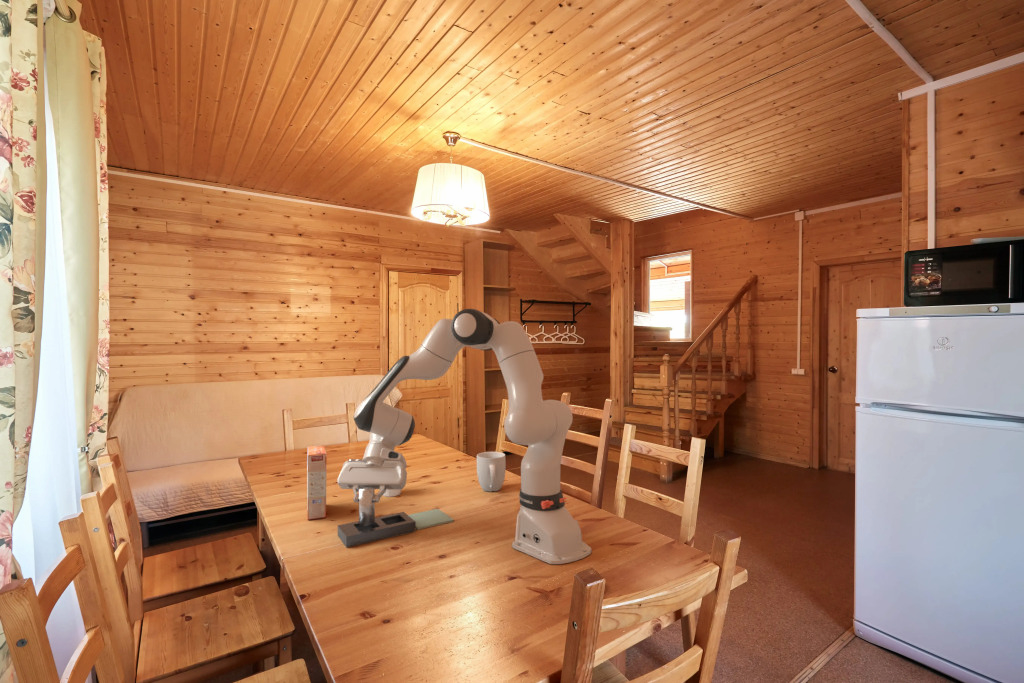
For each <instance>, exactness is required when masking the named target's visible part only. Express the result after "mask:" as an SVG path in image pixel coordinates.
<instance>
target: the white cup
mask: <svg viewBox="0 0 1024 683" xmlns="http://www.w3.org/2000/svg"><path fill="white" fill-rule="evenodd" d="M401 493H402V489H386V492H385V493H384V494H383V496H382V497H396V496H399V495H401Z"/></svg>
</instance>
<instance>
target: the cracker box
mask: <svg viewBox="0 0 1024 683" xmlns="http://www.w3.org/2000/svg"><path fill="white" fill-rule="evenodd" d="M306 458H307V459H306V513H307V514H306V515H307V520H317V519H324V518H325V519H326V518H327V450H326V446H325V445H313V446H312V445H311V446H307V456H306Z"/></svg>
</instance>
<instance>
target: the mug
mask: <svg viewBox="0 0 1024 683" xmlns="http://www.w3.org/2000/svg"><path fill="white" fill-rule="evenodd" d="M506 463H507V462H506V454H505V453H504V452H500V451H483V452H480V453H478V454H476V473H477V474H476V475H477V480H478V484H479V485H480V487H481V489H482V490H483V491H484V492H488V493H489V492H492V491H494V492H497V491H500V490H501V488H502V487H503V485H504V481H505V478H506V469H507V468H506Z"/></svg>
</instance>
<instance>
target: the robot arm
mask: <svg viewBox="0 0 1024 683" xmlns="http://www.w3.org/2000/svg"><path fill="white" fill-rule="evenodd" d="M465 347H469V348H472V349H475V350H479V351H491V350H492V351H493V352H494V354H495V357H496V359H497V362H498V365H499V369H500V370H501V373H502V376H503V380H504V382H505V387H506V389H507V390H506V392H507V397H508V398H507V399H508V400H507V401H508V408H507V409H508V412H507V415H506V416H505V419H504V422H503V426H504V427H503V428H504V432H505V435H506V436H507V438H508V439H509V441H511V442H512V443H513V444H515V445H518V446H519V445H520V446H528V447H527V449H526V453H525V454H524V455H523V457H522V460H521V461H520V462H521V463H520V490H519V496H518V499H519V504H520V508H519V510H518V514H517V516H516V525H515V537H514V538H515V539H514V540H513V542H511V543H512V544H511V548H513V549H514V550H517V551H520V552H522V553H524V554H526V555H528V556H530V557H531V556H532V557H533V558H535V559H537V560H540V561H542V562H545V563H547V564H550V565H562V564H567V563H569V564H570V563H572V562H576V561H579V560H581V559H584V558H585V557H587V556H590V554H592V547H590V545H588V544H587V543H586V542H584V541H583V536H582V535H583V534H582V530H581V527H580V524H579V522H578V520H576V519H574V518H573V516H572V515H571V513H570V512H569V510H568V509H567V508H566V506H565V505H566V502H567V500H566V499H567V496H566V497H564V495H563V492H562V489H561V465H562V464H561V463H562V455H563V450H564V446H565V443H566V442H565V441H566V437H567V434H568V432H569V429H570V428H571V425H572V424H573V420H574V418H573V412H572V409H571V407H570V406H569V405H568V404H567V403H565V402H563V401H561V400H556V399H545V400H544V399H543V394H542V384H543V381H544V373H543V370H542V366H541V365H540V362H539V359H538V356H537V353H536V351H535V349H534V346H533V343H532V342H531V340H530V337H529V335H528V334H527V332H526V331H525V329H524V327H523V326H522V324H521V323H519V322H518V321H510V320H509V321H504V322H501V323H500V322H499V320H497V319H496V318H493V317H492V316H491V315H489V313H486V312H484V311H481V310H478V309H475V308H465V309H462V310H460V311H458V312H457V313H456V314H455V315H454V316H453V318H452V319H451V318H441V319H439V320H438V321H437V322H436V323H435V324H434V325H433V327H432V328H431V329H430V331H429V332H428V333H427V335H426V336H425V338H423V341H422V342H421V344H420V346H419V347H418V348H417V350H416V351H414V352H413V353H411V354H409V355H403V356H401V357H400V358H399V359H398V360H397V361H396V362H395V363H394V364H393V365H392V367H391V368H390V369H389V370H388V371H387V373H386V374H385V375H383V377H382V378H381V379H380V380H379V382H378V384H377V385H375V387H374V388H373V389H372V390H371V392H370V393H369V394H368V395H367V396H366V397H365V398H364V399H363V400H362V401H361V402H360V403H359V405H358V406H357V408H356V409H355V412H354V414H353V421H354V423H355V426H356V427H357V429H358V430H360V431H364V432H368V433H370V434H369V439H368V440H369V442H368V444H367V445H366V446H365V451H364V454H363V457H362V458H357V459H355V458H349V460H346V461H345V462H343V464H342V466H341V467H342V468H341V470H340V472H339V473H338V474H339V475H338V476H337V479H336V482H337V485H338V486H339V488H340V489H342V490H353V495H354V496H353V499H352V500H353V502H354V503H359V488H361V487H365V486H373V487H374V490H379V491H378V492H377V493H375V494H374V496H373V501H374V502H375V503H377V504H379V503H380V501H381V498H382V497H384V496H383V494H384V493H385V492H386V489H401V490H403V489H404V488H406V484H407V476H408V473H407V470H406V469H407V467H408V466H407V461H406V459H405V457H404V455H403V453H400V452H398V451H395V449H396V447H399V446H402V445H404V444H405V443H408V442H409V441H410V440H411V439H412V437H413V435H414V432H415V431H414V430H415V427H416V421H415V418H414V415H412V414H411V413H409V412H406V411H404V410H402V409H399V408H397V407H396V406H395V407H394V406H392V405H390V404H387V403H385V402H384V401H385V400H386V399H387V397H388V396H389V395H390V394H391V392H392V391H393V390H394V389H395V387H396V386H397V385H398V384H399V383H401V382H403V381H406V380H422V381H423V380H424V381H432V380H437V379H439V378H441V377H443V376H445V375H446V373H447V372H448V371H449V370H450V368H451V366H452V364H453V363H454V361H455V359H456V357H457V355H458V354H459V352H460V351H461V350H462V349H463V348H465Z"/></svg>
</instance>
